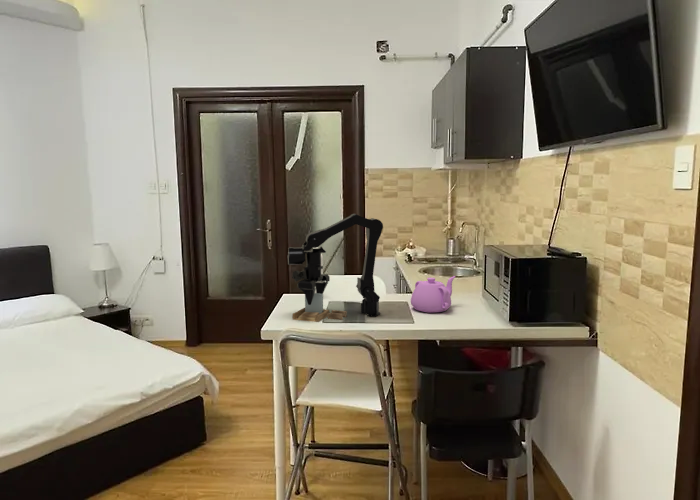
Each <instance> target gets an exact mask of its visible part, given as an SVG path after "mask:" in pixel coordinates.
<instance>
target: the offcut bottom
mask: <svg viewBox="0 0 700 500" xmlns="http://www.w3.org/2000/svg"><path fill="white" fill-rule="evenodd" d="M299 319H305V320H316V318H311V317H301V316H299Z"/></svg>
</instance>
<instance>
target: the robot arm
mask: <svg viewBox="0 0 700 500" xmlns="http://www.w3.org/2000/svg"><path fill="white" fill-rule="evenodd" d="M355 225H357V226H359V227H360V226H361V227H362V228H363V227H364V228H365V235H366V245H365V254H364V255H365V256H364V261H363V269H362V275H361V276H360V277H357V279H356V282H357V283H356V286H355V288H357V292H358V293H359V295H361V297H362V299H361V300H362V301H361V303H360V313H361V314H365V315H366V317H375V318H376V317H377V316H378V315H380V314H381V312H380V310H379V309H380V305H379V303H380V301H379V300H380V299H381V297H380V296H379V294H377V292H376V291H375V280H374V271H375V264H376V263H375V261H376V255H377V247H378V241H379V240H380V237H381V235H382V232H383V230H384V223H383V222H382V221H381V220H380V219H378V218H374V217H371V218H367V217H364V216H361V215H359V214H356V213H352V214H350V215H349V216H347V217H345V218H343V219H342V220H339V221H337V222H335V223H333V224H331V225H329V226H327V227H325V228H322V229H318V230H314V231H311V232H308V233H307V234H306V237H305V240H304V242H303V244H302V245H301V247H291V246H290V247H288V248H287V249H288V250H287V251H288V252H287V265H288V266H293V265H303V263H305V262H306V266H305V267H303V269H304V270H301V271H299V270H298V269H297V270H295V271H293V272H292V277H291V278H292V279H293V280H294V282H295V283H297V289H299V290H300V291H302V292H303V294H304V297H305V296H306V299H307V302H308V305H311V303H312V300H313V296H314V293H315V290H316V293H320V294H323V295H324V292H325V290H326V288H327V286H328V284H329V282H330V280H331V279H330V275H328V273H323V274H321V269H323V270H324V265H323V266H321V254H324V253H325V254H326V253H327V250H325V249H324V248H323V247H322V245H323V244H324V243H325V242H326V241H328V239H330V238H331V237H333V236H336V235H338V234H340V233H341V232H343V231H345V230H347V229H349V228H352V227H353V226H355ZM316 247H318V248H316ZM313 248H314V249H313ZM315 286H316V288H315Z"/></svg>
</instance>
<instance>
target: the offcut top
mask: <svg viewBox="0 0 700 500" xmlns="http://www.w3.org/2000/svg"><path fill="white" fill-rule="evenodd" d="M317 315H319V313H318V312H304V313H303V314H301V317H311V318H316V316H317Z"/></svg>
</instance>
